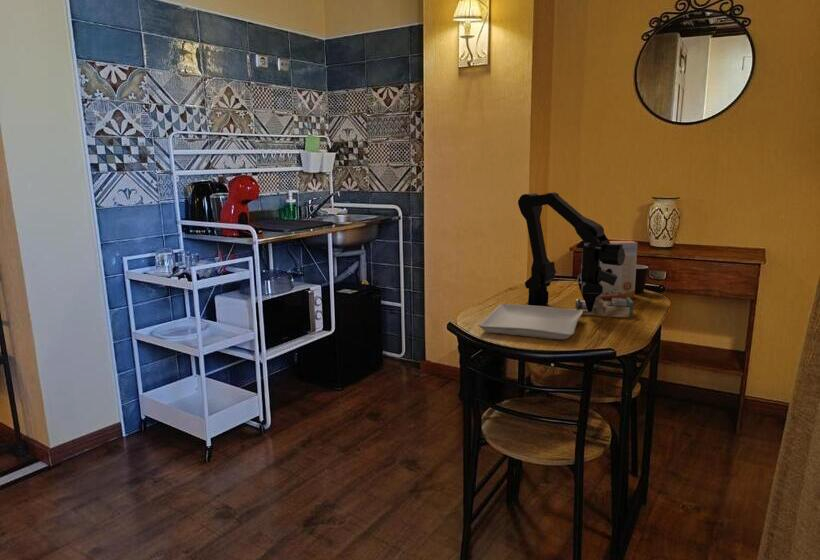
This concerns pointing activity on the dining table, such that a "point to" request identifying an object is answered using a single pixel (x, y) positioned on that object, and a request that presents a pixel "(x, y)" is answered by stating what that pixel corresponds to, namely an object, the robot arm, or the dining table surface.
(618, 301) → the block
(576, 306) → the shaft
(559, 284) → the dining table surface
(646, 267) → the coffee mug
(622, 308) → the bearing bed
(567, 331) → the square plate
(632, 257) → the cracker box
